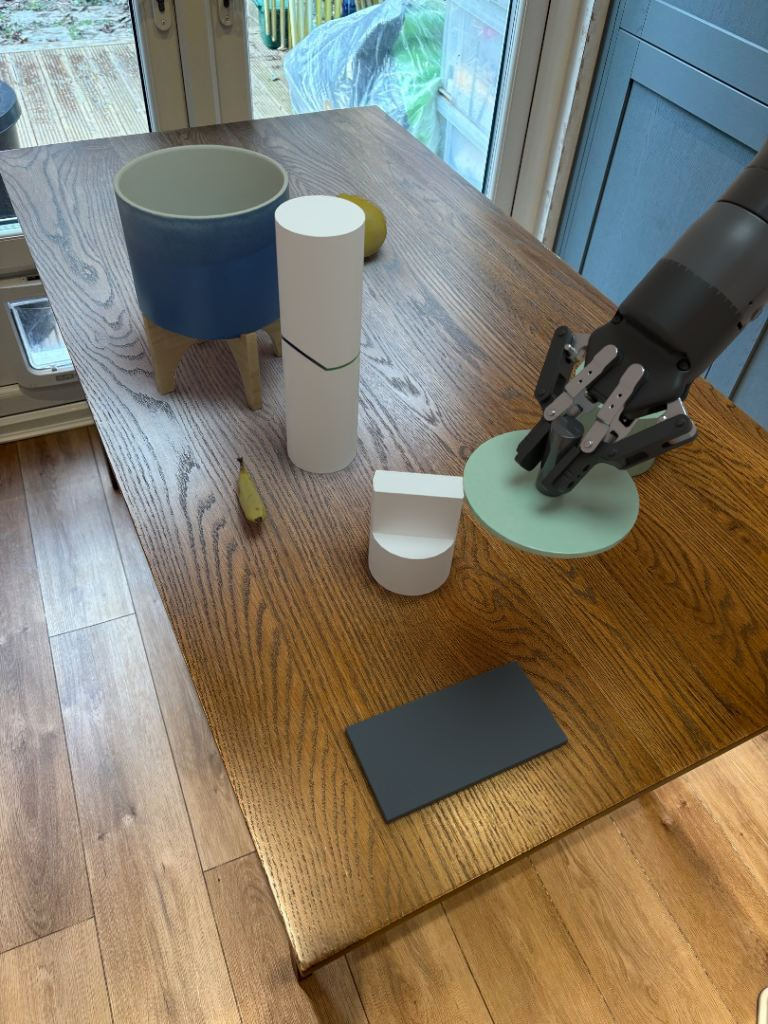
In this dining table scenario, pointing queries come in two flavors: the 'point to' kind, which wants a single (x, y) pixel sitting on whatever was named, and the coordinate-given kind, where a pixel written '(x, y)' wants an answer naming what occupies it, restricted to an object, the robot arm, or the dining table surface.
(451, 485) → the base with upright slab
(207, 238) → the planter
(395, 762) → the mat
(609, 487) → the lid
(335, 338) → the container
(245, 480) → the banana
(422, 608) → the dining table surface
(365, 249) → the fruit
